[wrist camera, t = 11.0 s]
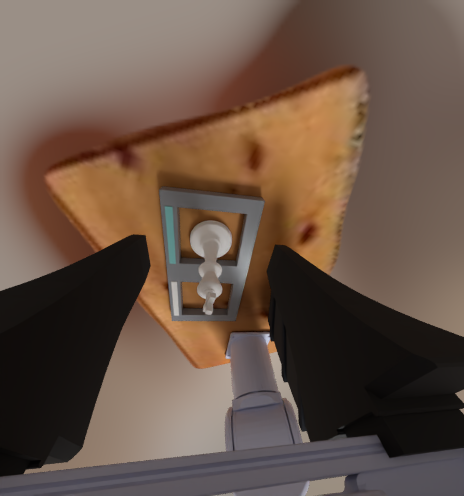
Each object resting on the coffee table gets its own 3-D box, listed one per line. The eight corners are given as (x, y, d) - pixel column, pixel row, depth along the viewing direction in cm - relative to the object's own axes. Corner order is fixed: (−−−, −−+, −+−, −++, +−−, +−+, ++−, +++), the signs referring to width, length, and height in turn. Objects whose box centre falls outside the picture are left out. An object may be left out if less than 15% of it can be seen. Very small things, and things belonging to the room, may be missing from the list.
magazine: (266, 339, 31) (307, 447, 16) (262, 269, 29) (304, 318, 14) (287, 336, 31) (346, 441, 16) (284, 267, 29) (348, 313, 14)
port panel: (234, 314, 28) (235, 321, 27) (173, 314, 27) (171, 321, 26) (262, 197, 18) (265, 201, 17) (162, 186, 16) (158, 189, 15)
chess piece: (238, 228, 19) (256, 296, 11) (223, 260, 22) (228, 336, 14) (196, 214, 18) (181, 280, 10) (185, 249, 20) (165, 327, 12)
